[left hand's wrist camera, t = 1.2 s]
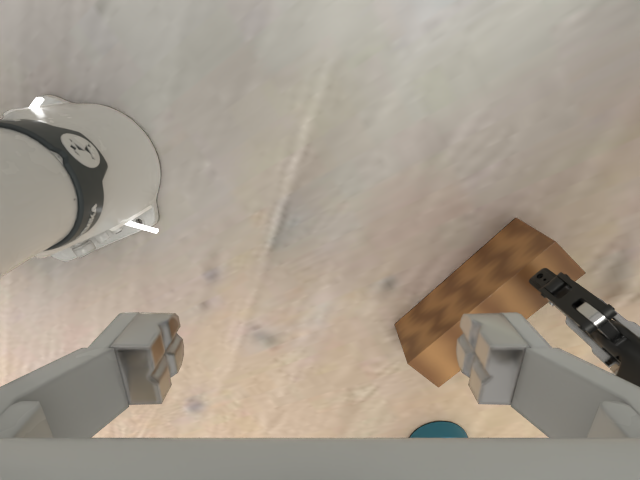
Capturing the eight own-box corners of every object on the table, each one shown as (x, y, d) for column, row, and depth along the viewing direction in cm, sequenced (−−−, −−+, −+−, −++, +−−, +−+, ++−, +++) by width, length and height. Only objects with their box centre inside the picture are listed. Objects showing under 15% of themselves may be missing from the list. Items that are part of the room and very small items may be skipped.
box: (421, 345, 55) (438, 387, 47) (394, 324, 54) (407, 363, 46) (542, 244, 49) (585, 273, 41) (515, 217, 48) (555, 241, 40)
